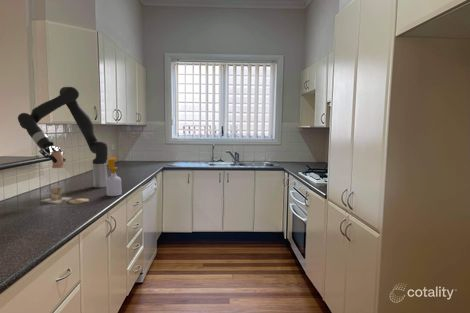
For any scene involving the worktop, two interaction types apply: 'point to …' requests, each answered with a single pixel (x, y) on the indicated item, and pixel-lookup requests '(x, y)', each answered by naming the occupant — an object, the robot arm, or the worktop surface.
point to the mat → (78, 201)
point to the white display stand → (56, 196)
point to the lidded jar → (58, 159)
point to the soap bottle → (113, 180)
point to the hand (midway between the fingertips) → (60, 161)
